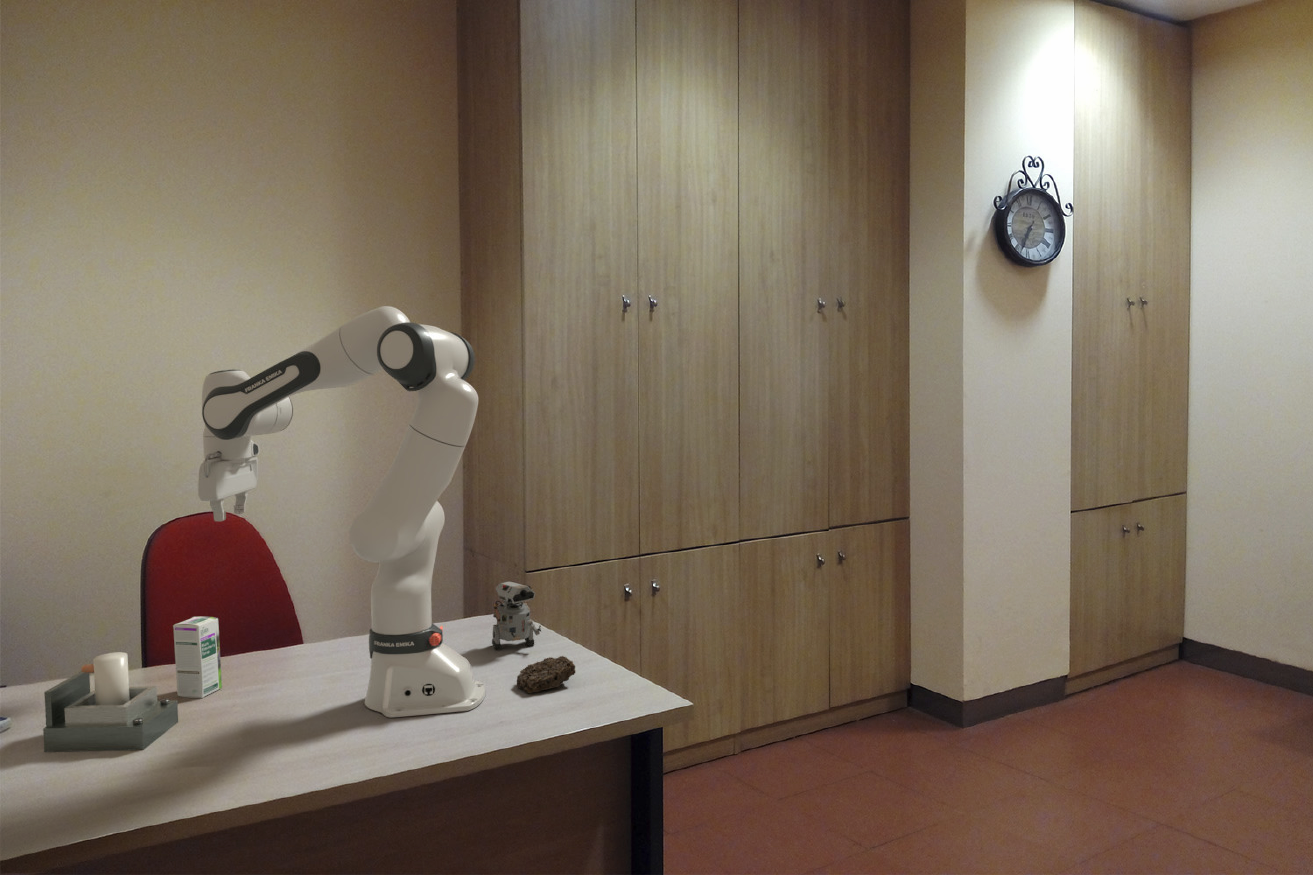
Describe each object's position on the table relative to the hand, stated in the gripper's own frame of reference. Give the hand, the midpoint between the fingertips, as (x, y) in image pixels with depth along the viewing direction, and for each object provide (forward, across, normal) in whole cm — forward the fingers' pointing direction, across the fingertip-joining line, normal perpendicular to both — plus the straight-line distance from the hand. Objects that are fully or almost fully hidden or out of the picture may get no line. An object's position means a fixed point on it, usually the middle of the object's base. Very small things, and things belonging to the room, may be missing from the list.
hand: (230, 517), depth 184 cm
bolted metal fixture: (+33, -31, +8) cm, 46 cm away
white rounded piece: (+29, -31, +9) cm, 43 cm away
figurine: (+33, +15, -56) cm, 67 cm away
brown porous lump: (+33, -9, -64) cm, 73 cm away
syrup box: (+33, -10, +3) cm, 35 cm away
